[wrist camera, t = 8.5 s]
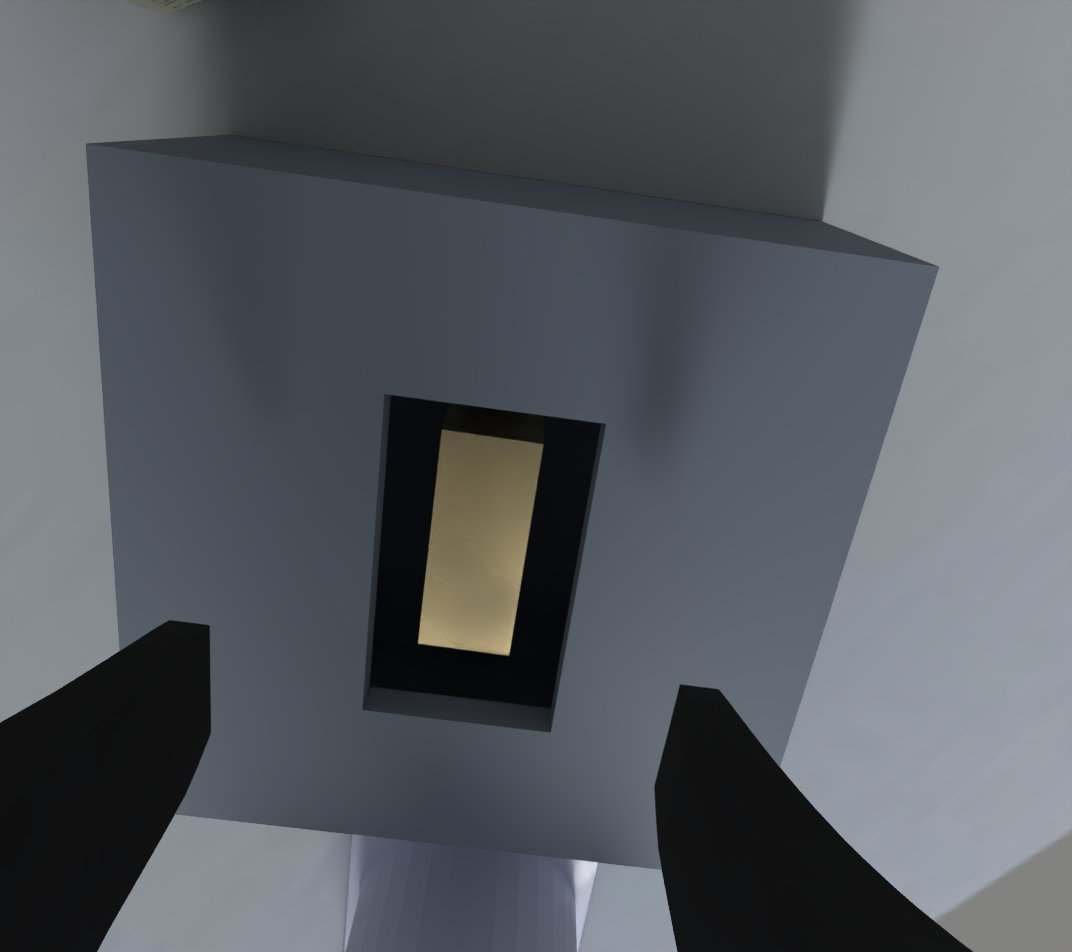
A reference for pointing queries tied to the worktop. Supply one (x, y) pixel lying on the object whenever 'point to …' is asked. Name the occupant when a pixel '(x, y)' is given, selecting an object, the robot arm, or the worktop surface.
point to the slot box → (412, 461)
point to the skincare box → (164, 4)
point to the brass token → (480, 527)
